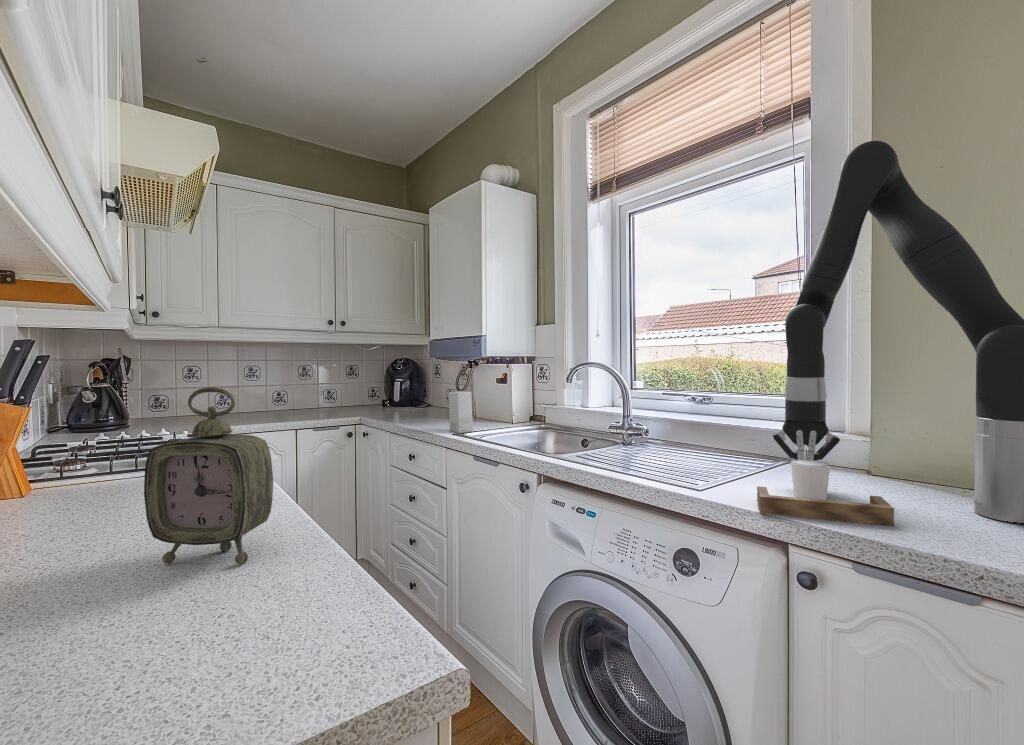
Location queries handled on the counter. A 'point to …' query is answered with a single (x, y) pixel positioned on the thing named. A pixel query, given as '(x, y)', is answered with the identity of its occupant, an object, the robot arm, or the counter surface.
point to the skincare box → (460, 411)
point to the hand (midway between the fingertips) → (804, 478)
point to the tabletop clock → (208, 485)
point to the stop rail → (827, 508)
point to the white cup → (810, 479)
